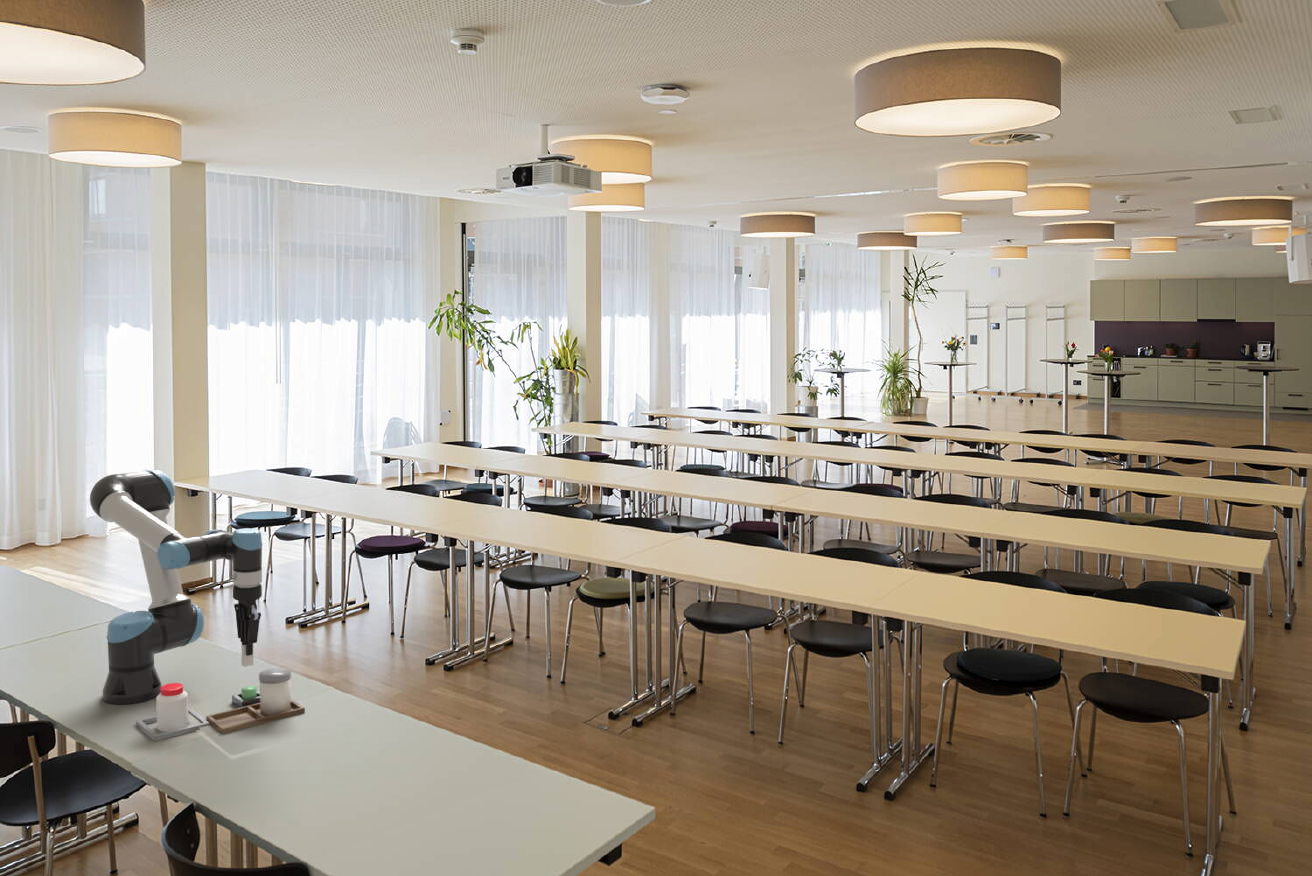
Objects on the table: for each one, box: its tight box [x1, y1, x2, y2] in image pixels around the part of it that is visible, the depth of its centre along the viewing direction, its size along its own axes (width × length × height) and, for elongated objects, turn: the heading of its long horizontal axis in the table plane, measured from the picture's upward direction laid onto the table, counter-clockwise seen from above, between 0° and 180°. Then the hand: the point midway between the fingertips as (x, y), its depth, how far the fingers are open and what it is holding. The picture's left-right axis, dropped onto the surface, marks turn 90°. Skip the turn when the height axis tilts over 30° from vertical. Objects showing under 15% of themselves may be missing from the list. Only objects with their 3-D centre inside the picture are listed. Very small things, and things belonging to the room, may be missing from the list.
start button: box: [241, 685, 258, 700], centre depth 282 cm, size 4×4×4 cm
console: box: [231, 689, 260, 708], centre depth 282 cm, size 7×7×3 cm
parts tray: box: [135, 707, 211, 742], centre depth 267 cm, size 14×14×1 cm
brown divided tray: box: [205, 698, 306, 735], centre depth 273 cm, size 12×22×2 cm, turn 134°
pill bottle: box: [155, 682, 190, 733], centre depth 267 cm, size 8×8×11 cm
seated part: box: [258, 667, 292, 716], centre depth 276 cm, size 8×8×11 cm
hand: (247, 665), depth 281 cm, fingers closed
